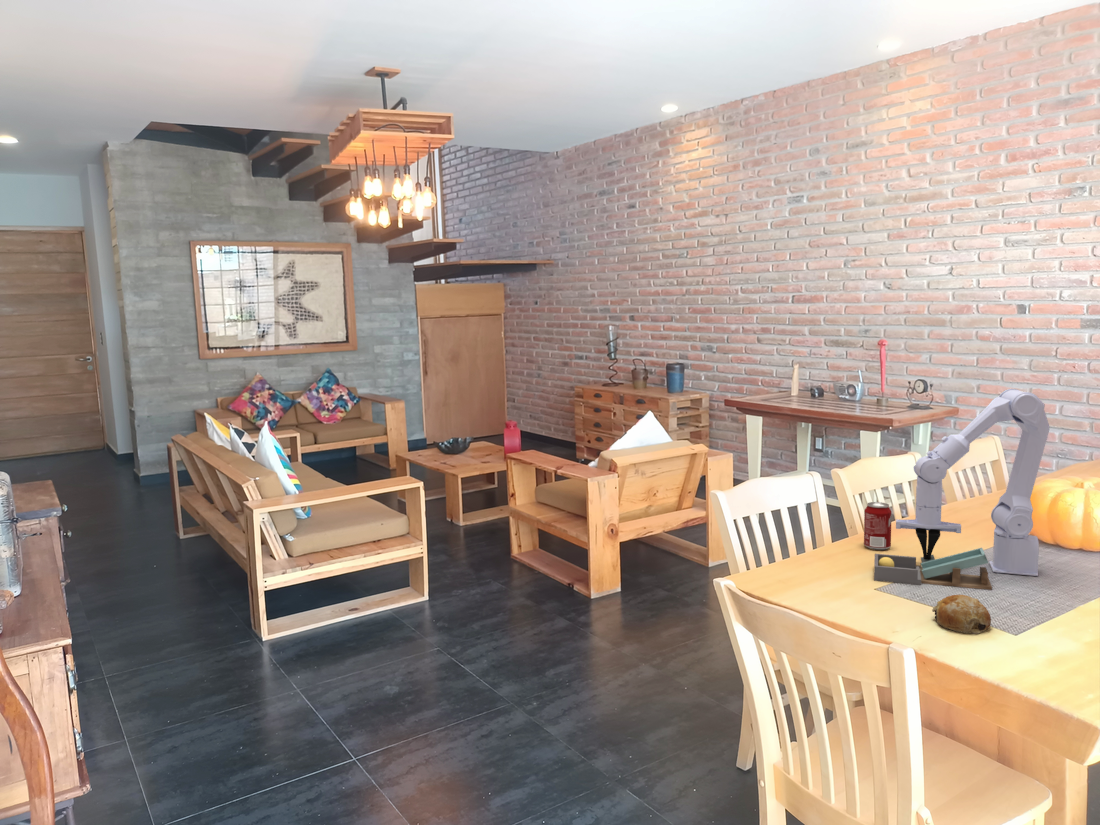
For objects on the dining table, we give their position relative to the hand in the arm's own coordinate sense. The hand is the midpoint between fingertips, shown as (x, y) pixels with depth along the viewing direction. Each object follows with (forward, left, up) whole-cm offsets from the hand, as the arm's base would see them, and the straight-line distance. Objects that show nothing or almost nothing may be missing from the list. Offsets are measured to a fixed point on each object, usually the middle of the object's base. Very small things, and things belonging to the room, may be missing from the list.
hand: (926, 558), depth 196 cm
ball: (+9, +9, 0) cm, 13 cm away
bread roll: (-4, +37, -3) cm, 37 cm away
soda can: (+11, -14, -2) cm, 18 cm away
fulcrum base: (-6, +9, -2) cm, 11 cm away
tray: (+7, +9, -2) cm, 12 cm away
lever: (-6, +5, +1) cm, 7 cm away
